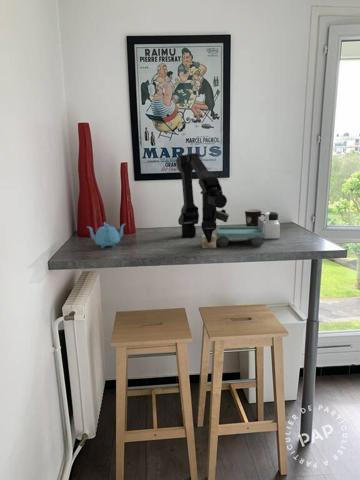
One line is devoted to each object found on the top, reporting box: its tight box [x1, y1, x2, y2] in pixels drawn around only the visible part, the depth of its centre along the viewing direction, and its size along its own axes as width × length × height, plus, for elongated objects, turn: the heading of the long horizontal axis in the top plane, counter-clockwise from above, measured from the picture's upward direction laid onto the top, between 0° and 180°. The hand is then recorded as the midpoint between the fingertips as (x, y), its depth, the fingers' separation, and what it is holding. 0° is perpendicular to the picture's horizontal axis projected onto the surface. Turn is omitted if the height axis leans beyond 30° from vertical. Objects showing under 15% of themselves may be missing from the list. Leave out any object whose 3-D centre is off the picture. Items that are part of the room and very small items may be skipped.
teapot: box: [87, 221, 126, 249], centre depth 163 cm, size 13×13×10 cm
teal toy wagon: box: [216, 216, 264, 248], centre depth 163 cm, size 20×14×11 cm
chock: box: [201, 233, 217, 249], centre depth 159 cm, size 6×5×5 cm
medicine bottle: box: [263, 211, 281, 240], centre depth 172 cm, size 7×7×12 cm
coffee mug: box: [244, 208, 265, 227], centre depth 189 cm, size 12×9×10 cm
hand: (209, 240), depth 159 cm, fingers open, 9 cm apart
